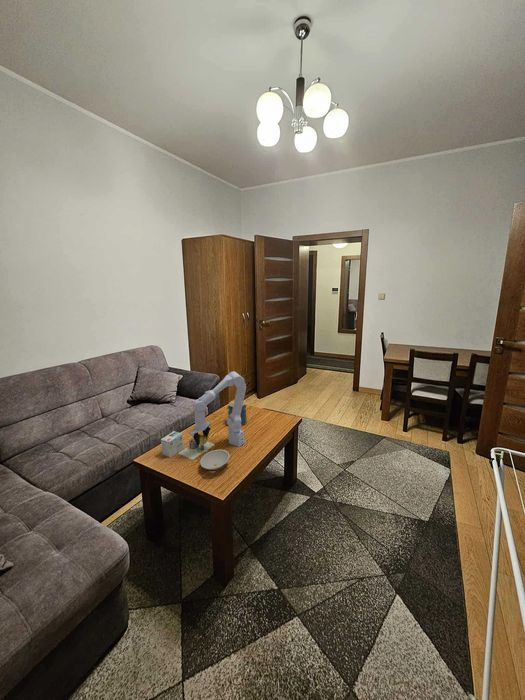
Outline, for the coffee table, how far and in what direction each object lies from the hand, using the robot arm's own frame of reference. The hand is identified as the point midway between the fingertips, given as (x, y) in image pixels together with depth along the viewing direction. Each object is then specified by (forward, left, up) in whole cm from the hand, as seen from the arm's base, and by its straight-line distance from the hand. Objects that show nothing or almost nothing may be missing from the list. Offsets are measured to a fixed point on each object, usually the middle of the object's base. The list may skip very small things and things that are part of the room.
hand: (201, 441), depth 168 cm
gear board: (+3, +1, -6) cm, 7 cm away
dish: (-17, +7, -6) cm, 19 cm away
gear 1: (+6, 0, -5) cm, 8 cm away
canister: (+4, -39, -6) cm, 40 cm away
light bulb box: (+13, +10, -6) cm, 18 cm away
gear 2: (0, 0, 0) cm, 0 cm away
